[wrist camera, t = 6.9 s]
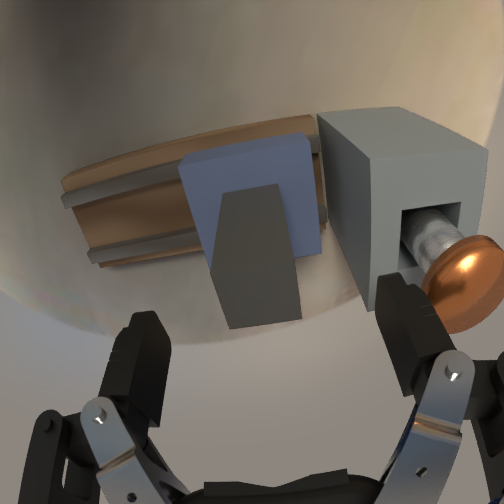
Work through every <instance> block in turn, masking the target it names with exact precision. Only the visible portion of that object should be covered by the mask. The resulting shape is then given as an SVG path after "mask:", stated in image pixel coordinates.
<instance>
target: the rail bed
mask: <svg viewBox="0 0 504 504" xmlns="http://www.w3.org/2000/svg"><path fill="white" fill-rule="evenodd" d="M299 132H303V133H304V135H305V136H306V137H307V139H308V140H309V142H310V146H311V154H312V162H313V170H314V179H315V187H316V196H317V206H318V216H319V227H320V230H324V229H326V223H327V211H326V208H325V206H324V200H323V190H322V180H321V171H320V162H319V153H318V152H320V143H319V136H318V135H317V134H316V130H315V122H314V118H313V117H312V116H311V115H310V114H309V115H302V116H295V117H288V118H281V119H275V120H269V121H263V122H257V123H252V124H246V125H241V126H236V127H231V128H226V129H221V130H217V131H212V132H207V133H203V134H199V135H194V136H190V137H186V138H182V139H178V140H174V141H170V142H167V143H163V144H159V145H155V146H152V147H148V148H145V149H141V150H138V151H134V152H131V153H128V154H125V155H121V156H118V157H115V158H112V159H109V160H106V161H103V162H100V163H97V164H94V165H91V166H88V167H85V168H82V169H79V170H77V171H74V172H71V173H69V174H68V175H67V176H65V177H64V178H63V179H62V180H61V183H62V185H63V188H64V190H65V193H64V194H63V195H62V196H61V199H62V202H63V204H64V206H65V209H67V208H70V207H72V209H73V211H74V214H75V216H76V218H77V220H78V223H79V225H80V227H81V229H82V231H83V233H84V235H85V238H86V240H87V242H88V244H89V246H90V249H89V251H88V252H87V255H88V257H89V259H90V261H91V263H92V264H94V263H98V264H99V266H100V268H103V267H109V266H114V265H120V264H125V263H131V262H136V261H142V260H148V259H153V258H159V257H165V256H170V255H176V254H182V253H188V252H193V251H199V250H203V248H202V244H201V241H200V238H199V235H198V232H197V229H196V226H195V223H194V219H193V216H192V213H191V210H190V207H189V203H188V200H187V197H186V194H185V190H184V187H183V184H182V180H181V177H180V174H179V170H178V166H179V164H180V162H181V161H182V159H183V157H184V156H185V154H189V153H193V152H197V151H202V150H206V149H211V148H215V147H220V146H225V145H230V144H235V143H240V142H245V141H251V140H256V139H262V138H268V137H274V136H280V135H286V134H293V133H299Z"/></svg>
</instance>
